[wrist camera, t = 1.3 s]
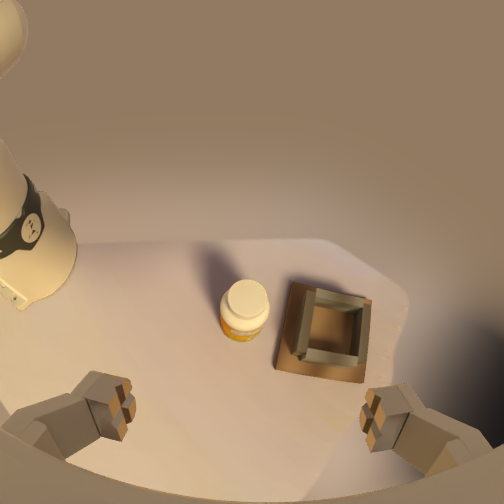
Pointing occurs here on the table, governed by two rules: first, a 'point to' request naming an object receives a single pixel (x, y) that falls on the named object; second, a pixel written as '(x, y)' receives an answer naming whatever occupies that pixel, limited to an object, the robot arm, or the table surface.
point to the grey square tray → (325, 334)
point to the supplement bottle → (244, 310)
